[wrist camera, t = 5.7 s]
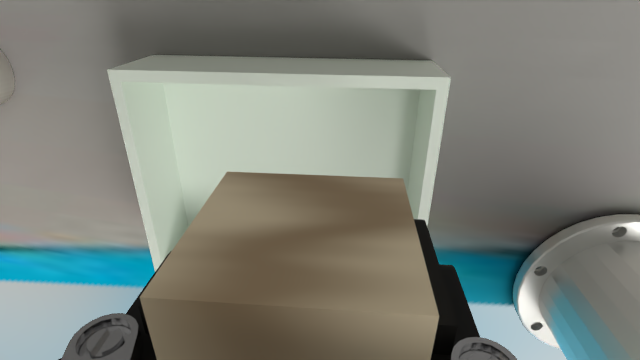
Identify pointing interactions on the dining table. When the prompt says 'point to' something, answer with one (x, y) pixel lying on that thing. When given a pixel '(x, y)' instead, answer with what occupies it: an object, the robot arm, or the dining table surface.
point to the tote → (272, 127)
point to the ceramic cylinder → (6, 79)
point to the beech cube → (295, 274)
